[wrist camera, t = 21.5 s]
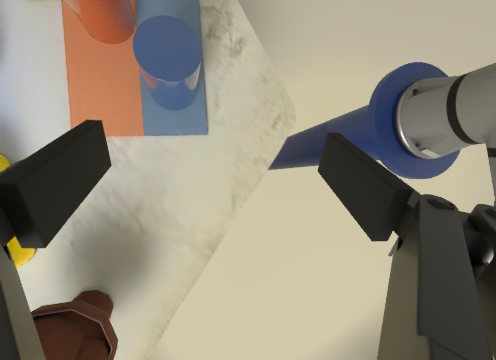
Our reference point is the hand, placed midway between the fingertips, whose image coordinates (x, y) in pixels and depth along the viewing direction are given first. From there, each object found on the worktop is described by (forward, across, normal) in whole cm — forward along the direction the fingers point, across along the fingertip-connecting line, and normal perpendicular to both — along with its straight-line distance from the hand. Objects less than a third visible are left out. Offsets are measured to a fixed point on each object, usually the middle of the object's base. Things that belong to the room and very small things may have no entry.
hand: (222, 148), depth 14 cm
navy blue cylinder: (+25, -6, -1) cm, 26 cm away
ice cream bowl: (+9, -17, -29) cm, 34 cm away
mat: (+26, -11, +2) cm, 29 cm away
